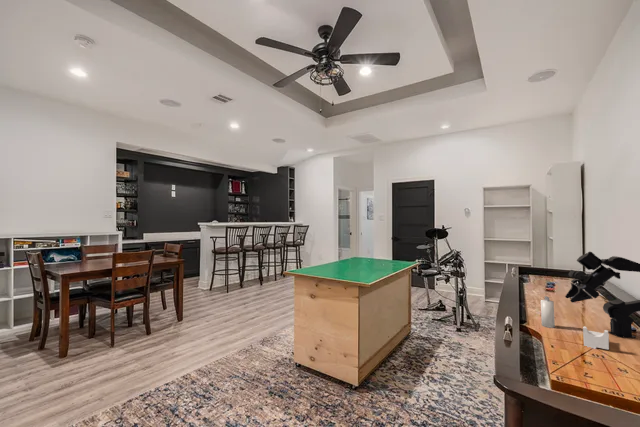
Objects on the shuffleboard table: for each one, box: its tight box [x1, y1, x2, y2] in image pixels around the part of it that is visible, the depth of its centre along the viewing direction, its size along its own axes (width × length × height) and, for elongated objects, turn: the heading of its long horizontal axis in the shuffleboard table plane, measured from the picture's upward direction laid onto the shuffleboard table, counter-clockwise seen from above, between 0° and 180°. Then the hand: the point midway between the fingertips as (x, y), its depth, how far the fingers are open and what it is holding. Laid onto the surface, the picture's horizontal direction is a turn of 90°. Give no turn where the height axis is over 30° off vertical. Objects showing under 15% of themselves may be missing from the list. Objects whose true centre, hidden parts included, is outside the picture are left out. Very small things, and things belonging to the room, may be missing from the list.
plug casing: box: [540, 295, 556, 329], centre depth 141 cm, size 5×5×14 cm
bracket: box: [582, 326, 610, 350], centre depth 119 cm, size 13×7×8 cm, turn 135°
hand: (568, 299), depth 137 cm, fingers open, 9 cm apart
